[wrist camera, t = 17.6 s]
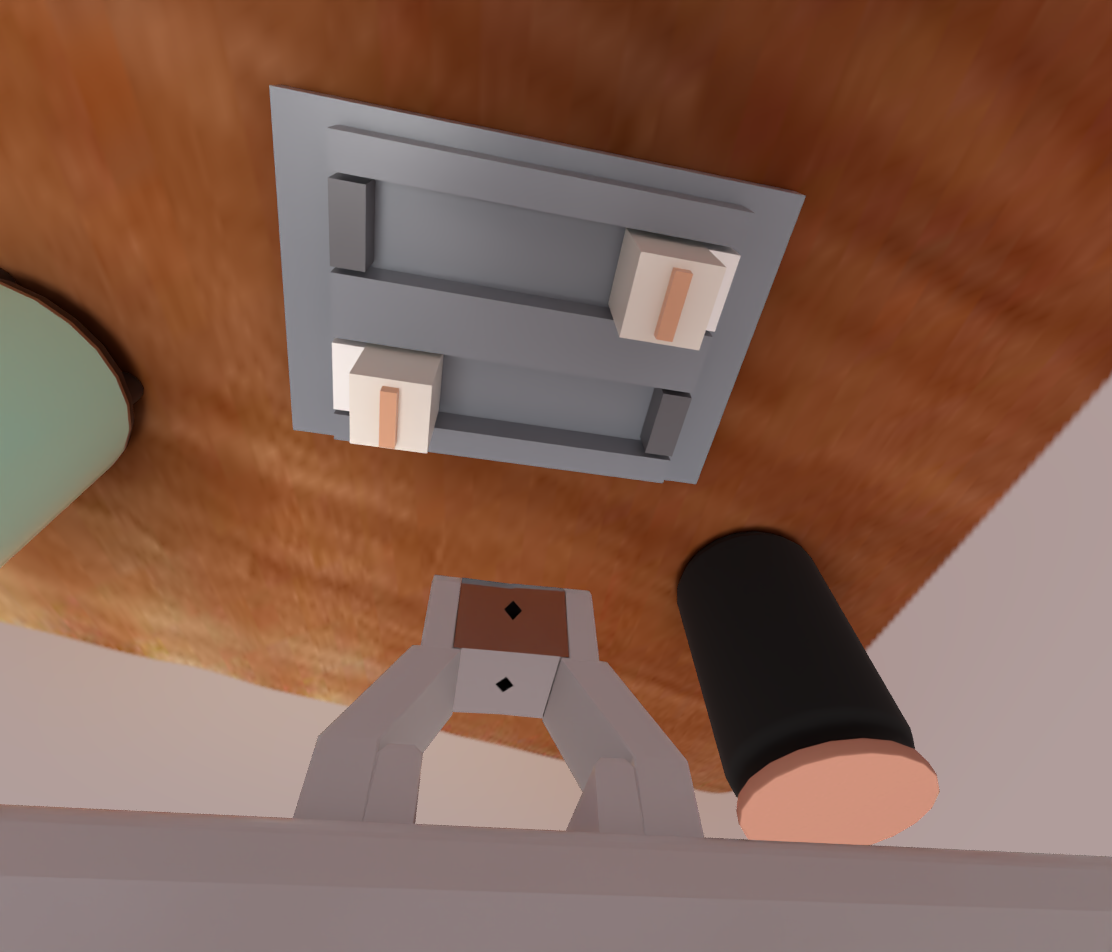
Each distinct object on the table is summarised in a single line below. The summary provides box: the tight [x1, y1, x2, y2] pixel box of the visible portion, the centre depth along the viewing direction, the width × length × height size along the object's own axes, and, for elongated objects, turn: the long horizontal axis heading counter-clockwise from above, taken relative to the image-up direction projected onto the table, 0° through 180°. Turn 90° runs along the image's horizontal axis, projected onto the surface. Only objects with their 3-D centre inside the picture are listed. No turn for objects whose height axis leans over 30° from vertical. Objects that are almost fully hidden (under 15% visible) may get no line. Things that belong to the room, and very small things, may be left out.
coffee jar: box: [677, 531, 940, 845], centre depth 40 cm, size 11×11×18 cm
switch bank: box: [269, 85, 806, 484], centre depth 33 cm, size 18×26×4 cm
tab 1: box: [349, 343, 443, 453], centre depth 32 cm, size 4×4×6 cm
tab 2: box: [608, 228, 727, 350], centre depth 29 cm, size 4×4×6 cm
